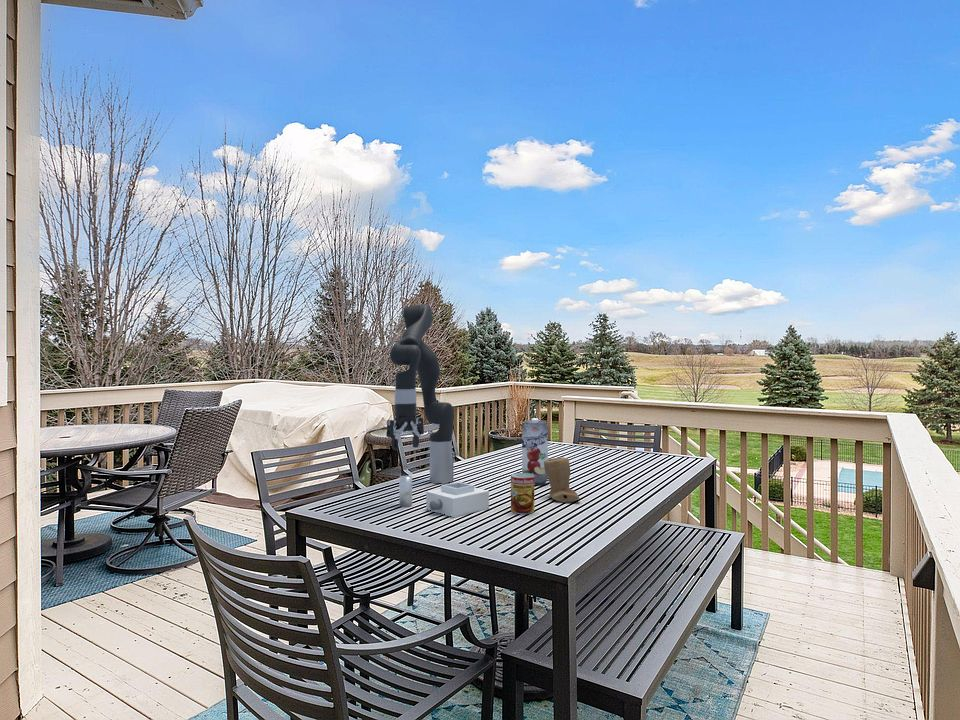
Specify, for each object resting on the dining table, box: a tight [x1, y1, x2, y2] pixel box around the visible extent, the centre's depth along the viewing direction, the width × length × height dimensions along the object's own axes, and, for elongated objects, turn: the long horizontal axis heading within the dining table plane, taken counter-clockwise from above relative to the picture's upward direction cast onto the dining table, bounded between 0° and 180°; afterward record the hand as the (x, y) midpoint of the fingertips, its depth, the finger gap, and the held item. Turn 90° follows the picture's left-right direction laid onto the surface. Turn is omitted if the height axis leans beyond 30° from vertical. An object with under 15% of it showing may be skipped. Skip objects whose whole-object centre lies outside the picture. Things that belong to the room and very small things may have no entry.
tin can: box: [398, 475, 413, 508], centre depth 196 cm, size 4×4×10 cm
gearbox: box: [425, 481, 490, 518], centre depth 190 cm, size 19×14×8 cm
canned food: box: [510, 472, 535, 515], centre depth 189 cm, size 8×8×12 cm
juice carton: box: [521, 417, 549, 486], centre depth 232 cm, size 9×10×27 cm
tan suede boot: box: [544, 456, 580, 503], centre depth 206 cm, size 15×12×15 cm
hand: (405, 448), depth 196 cm, fingers open, 8 cm apart
